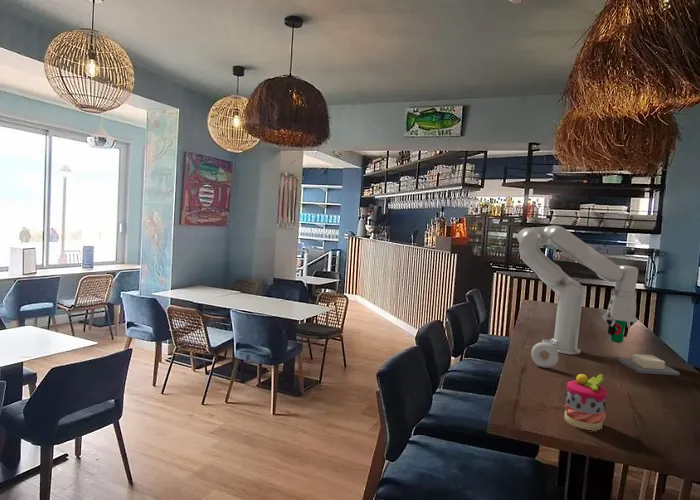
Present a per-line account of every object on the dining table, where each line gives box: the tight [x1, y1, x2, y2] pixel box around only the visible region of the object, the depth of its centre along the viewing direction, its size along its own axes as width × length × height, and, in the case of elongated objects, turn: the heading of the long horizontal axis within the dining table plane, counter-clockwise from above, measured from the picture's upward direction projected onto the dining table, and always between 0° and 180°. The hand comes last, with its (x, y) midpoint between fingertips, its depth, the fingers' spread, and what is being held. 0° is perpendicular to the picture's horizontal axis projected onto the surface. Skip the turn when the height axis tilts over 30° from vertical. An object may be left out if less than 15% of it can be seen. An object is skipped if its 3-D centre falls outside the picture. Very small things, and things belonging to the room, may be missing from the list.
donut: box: [530, 341, 560, 369], centre depth 177 cm, size 10×4×10 cm, turn 55°
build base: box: [617, 353, 681, 376], centre depth 184 cm, size 16×14×4 cm
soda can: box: [609, 321, 626, 344], centre depth 196 cm, size 5×5×12 cm
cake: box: [563, 373, 608, 432], centre depth 130 cm, size 10×11×15 cm
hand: (617, 334), depth 197 cm, fingers closed on soda can, 5 cm apart
